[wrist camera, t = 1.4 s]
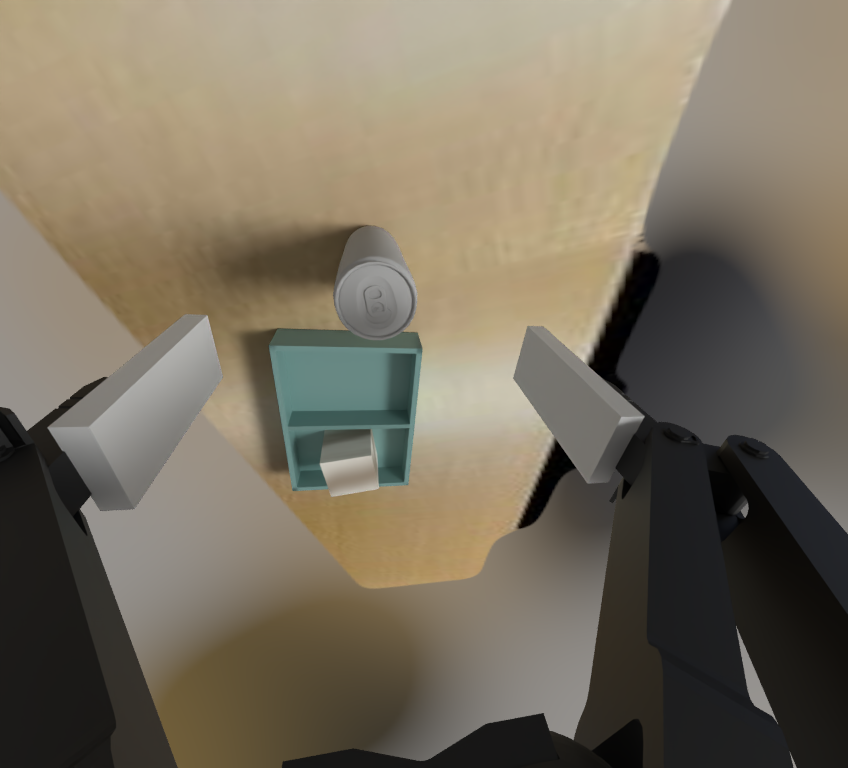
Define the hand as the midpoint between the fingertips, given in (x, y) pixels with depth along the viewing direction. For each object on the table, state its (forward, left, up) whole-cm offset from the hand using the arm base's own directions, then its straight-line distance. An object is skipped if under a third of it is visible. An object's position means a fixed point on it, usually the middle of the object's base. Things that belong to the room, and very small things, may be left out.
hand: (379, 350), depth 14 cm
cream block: (+20, -2, -16) cm, 26 cm away
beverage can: (0, 0, -18) cm, 18 cm away
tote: (+16, -2, -17) cm, 24 cm away
